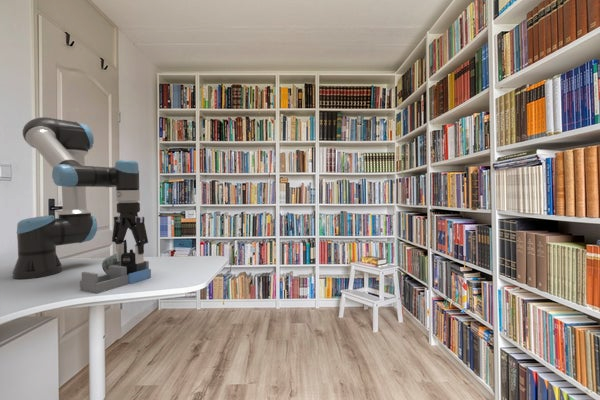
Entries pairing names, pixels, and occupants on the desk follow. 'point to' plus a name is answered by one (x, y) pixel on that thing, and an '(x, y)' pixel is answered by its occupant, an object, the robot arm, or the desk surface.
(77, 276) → the desk surface
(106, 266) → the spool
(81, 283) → the blue-ended grey tray
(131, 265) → the two-way radio
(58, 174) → the robot arm
